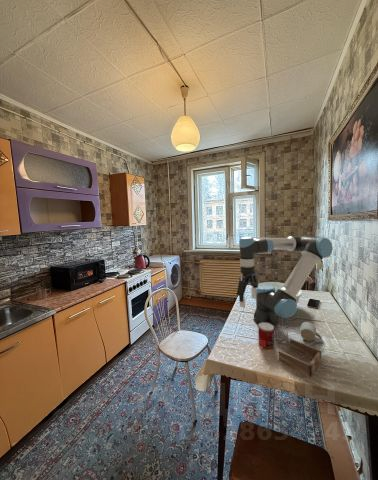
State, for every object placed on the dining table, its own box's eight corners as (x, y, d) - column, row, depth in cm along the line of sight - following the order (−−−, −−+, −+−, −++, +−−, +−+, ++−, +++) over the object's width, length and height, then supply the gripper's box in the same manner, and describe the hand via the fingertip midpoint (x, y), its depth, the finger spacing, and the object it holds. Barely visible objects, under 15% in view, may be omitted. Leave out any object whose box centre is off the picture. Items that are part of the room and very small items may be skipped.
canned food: (268, 351, 104) (268, 331, 103) (255, 344, 111) (255, 325, 109) (276, 345, 109) (277, 326, 108) (263, 339, 115) (263, 320, 114)
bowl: (309, 318, 135) (310, 297, 133) (259, 317, 140) (259, 296, 138) (293, 299, 166) (293, 281, 165) (252, 298, 172) (252, 281, 170)
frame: (290, 347, 107) (290, 338, 106) (321, 360, 96) (321, 351, 96) (278, 360, 98) (278, 351, 97) (310, 377, 87) (311, 366, 87)
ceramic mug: (299, 339, 113) (300, 326, 112) (300, 332, 120) (301, 320, 119) (322, 345, 108) (323, 332, 107) (321, 337, 115) (322, 324, 114)
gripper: (251, 260, 123) (252, 293, 125) (228, 270, 105) (230, 308, 108) (263, 261, 118) (264, 296, 120) (241, 272, 100) (243, 312, 102)
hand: (248, 302), depth 114 cm, fingers open, 13 cm apart
